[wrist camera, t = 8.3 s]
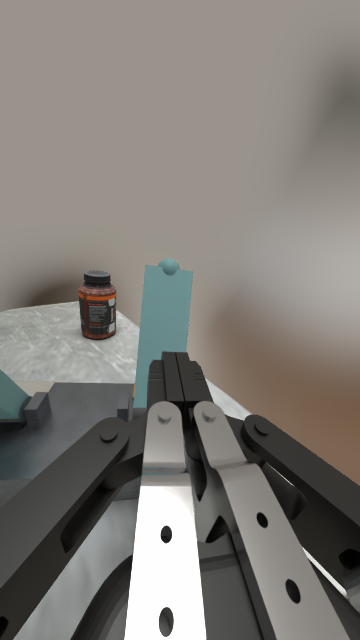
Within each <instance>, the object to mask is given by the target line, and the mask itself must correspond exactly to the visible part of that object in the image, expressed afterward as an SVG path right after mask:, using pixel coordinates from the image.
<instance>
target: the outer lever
mask: <svg viewBox="0 0 360 640" xmlns="http://www.w3.org/2000/svg"><path fill="white" fill-rule="evenodd" d="M192 277H193V272H192V271H186V270H180V267H179V265H178V264H177V262H176V261H174V260H173V259H164V260H162V261H161V262H160V263H159V265H158V267H157V266H150V265H145V275H144V287H143V298H142V310H141V322H140V334H139V345H138V357H137V369H136V381H135V392H134V404H133V416H132V420H134V419H137V418H139V417H140V416H142V415H143V414H144V413H145V412H146V410H147V383H148V374H149V365H150V364H151V362H152V361H153V360H161V355H162V351H167V352H186V347H187V336H188V324H189V312H190V301H191V289H192Z"/></svg>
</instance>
